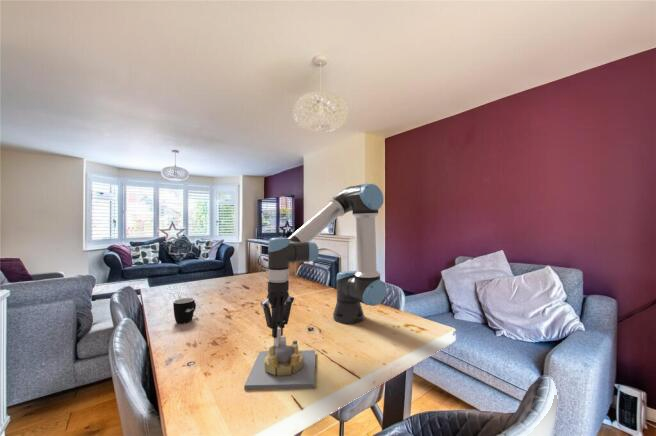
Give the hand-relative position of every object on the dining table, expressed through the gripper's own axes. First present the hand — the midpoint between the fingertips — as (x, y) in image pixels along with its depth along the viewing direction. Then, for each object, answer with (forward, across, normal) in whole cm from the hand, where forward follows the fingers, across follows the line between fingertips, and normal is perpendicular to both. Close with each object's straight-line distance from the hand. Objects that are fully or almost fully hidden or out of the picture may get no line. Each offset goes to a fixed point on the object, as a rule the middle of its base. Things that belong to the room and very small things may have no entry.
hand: (277, 345), depth 97 cm
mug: (+4, +15, -59) cm, 61 cm away
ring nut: (+2, +2, +7) cm, 7 cm away
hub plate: (+3, +4, +10) cm, 11 cm away
